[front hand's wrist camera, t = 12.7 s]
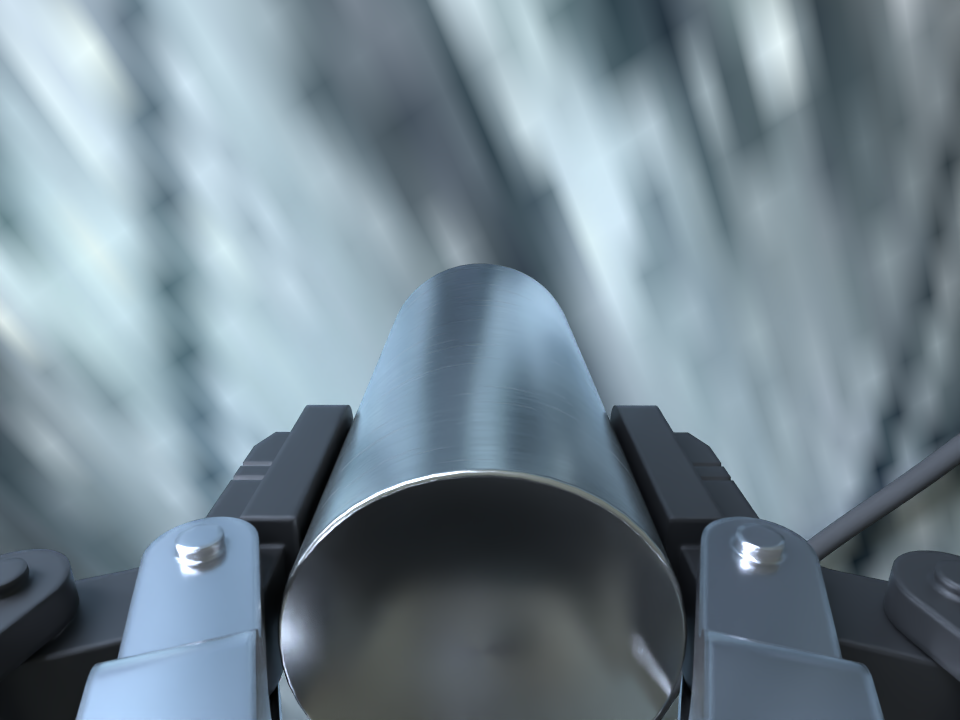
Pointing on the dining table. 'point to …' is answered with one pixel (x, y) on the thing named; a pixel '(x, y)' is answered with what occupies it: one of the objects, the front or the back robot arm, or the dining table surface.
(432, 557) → the metal cylinder
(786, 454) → the dining table surface
